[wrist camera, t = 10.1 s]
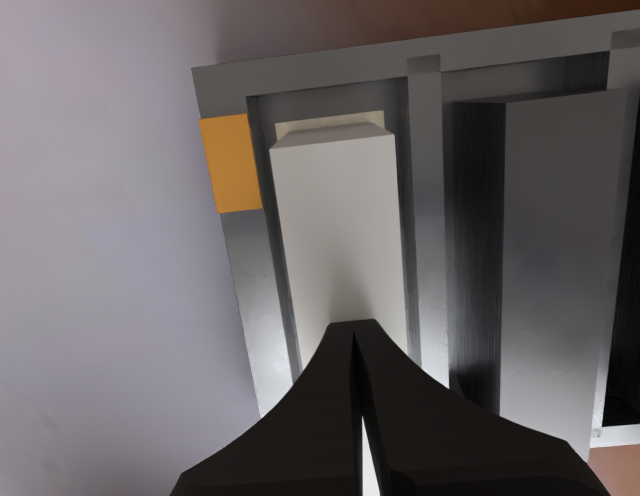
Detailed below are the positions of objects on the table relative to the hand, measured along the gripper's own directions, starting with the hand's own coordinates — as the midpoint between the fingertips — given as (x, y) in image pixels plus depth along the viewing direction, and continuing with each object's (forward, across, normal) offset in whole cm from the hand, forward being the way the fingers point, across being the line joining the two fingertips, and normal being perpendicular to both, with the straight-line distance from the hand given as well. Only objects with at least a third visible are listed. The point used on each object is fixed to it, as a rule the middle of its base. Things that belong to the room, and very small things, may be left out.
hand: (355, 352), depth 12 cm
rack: (+7, -6, 0) cm, 9 cm away
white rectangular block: (+6, 0, 0) cm, 6 cm away
